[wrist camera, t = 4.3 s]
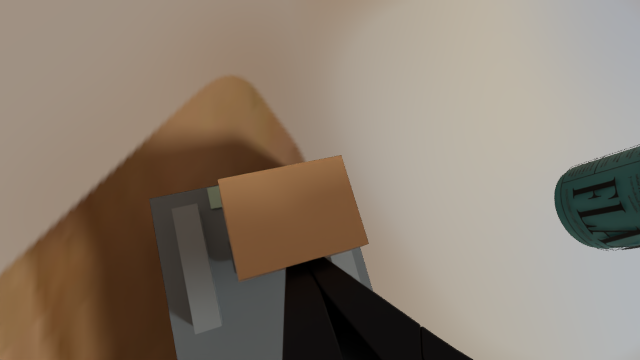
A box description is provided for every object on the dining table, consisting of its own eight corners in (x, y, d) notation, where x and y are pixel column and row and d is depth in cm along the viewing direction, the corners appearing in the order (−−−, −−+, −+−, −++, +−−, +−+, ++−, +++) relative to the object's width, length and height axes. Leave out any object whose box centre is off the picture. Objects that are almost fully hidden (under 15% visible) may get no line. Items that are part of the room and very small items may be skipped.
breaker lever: (307, 266, 16) (368, 243, 9) (237, 286, 15) (239, 279, 8) (293, 216, 17) (340, 155, 9) (225, 232, 16) (217, 179, 8)
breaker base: (385, 444, 20) (453, 516, 14) (224, 521, 17) (220, 652, 11) (314, 185, 23) (343, 151, 17) (168, 217, 20) (141, 190, 14)
